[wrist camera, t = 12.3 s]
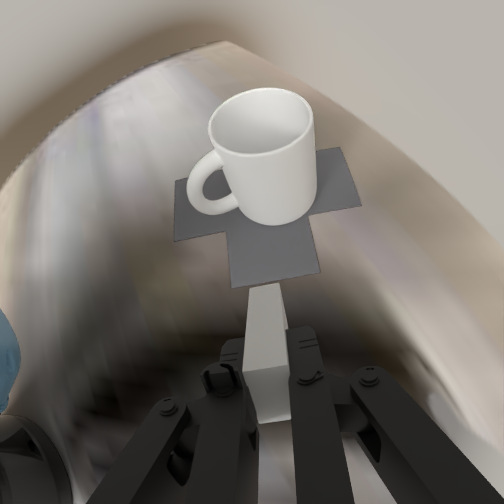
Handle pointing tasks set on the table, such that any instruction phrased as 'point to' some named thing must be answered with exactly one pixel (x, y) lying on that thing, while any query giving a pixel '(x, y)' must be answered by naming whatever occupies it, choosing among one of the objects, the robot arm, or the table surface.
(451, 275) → the table surface
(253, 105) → the mug
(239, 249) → the t mat
